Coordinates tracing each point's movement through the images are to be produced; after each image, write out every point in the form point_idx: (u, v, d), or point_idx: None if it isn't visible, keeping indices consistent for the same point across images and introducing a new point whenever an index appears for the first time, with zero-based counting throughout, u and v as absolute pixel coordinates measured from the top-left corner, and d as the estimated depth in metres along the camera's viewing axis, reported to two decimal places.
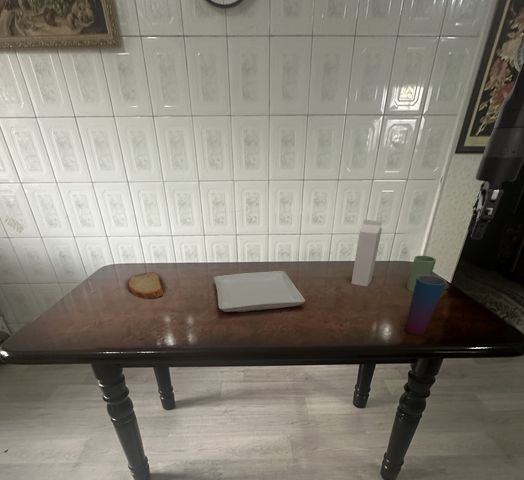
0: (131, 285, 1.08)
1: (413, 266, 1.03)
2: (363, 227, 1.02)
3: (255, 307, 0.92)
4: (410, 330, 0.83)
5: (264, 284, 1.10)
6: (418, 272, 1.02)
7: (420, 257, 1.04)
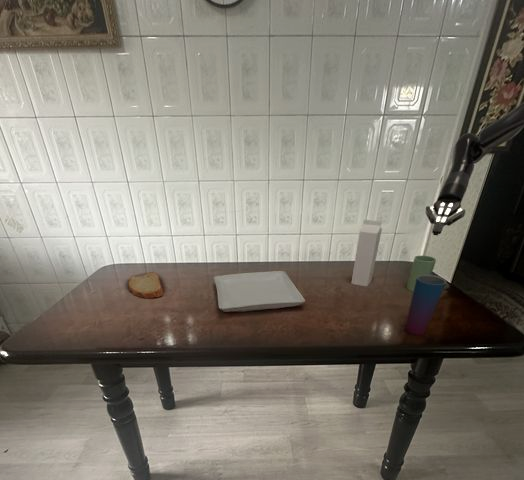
0: (131, 285, 1.08)
1: (413, 266, 1.03)
2: (363, 227, 1.02)
3: (255, 307, 0.92)
4: (410, 330, 0.83)
5: (264, 284, 1.10)
6: (418, 272, 1.02)
7: (420, 257, 1.04)
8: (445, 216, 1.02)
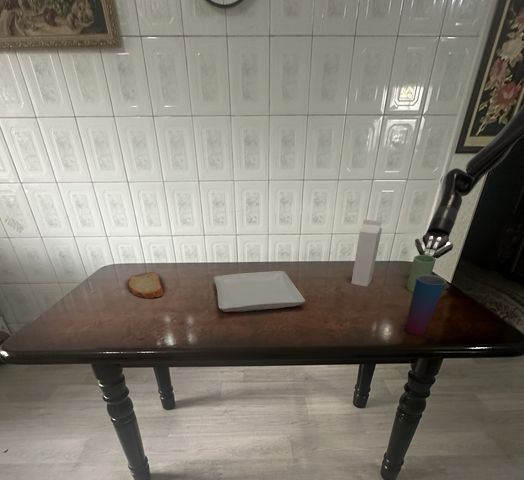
0: (131, 285, 1.08)
1: (413, 266, 1.03)
2: (363, 227, 1.02)
3: (255, 307, 0.92)
4: (410, 330, 0.83)
5: (264, 284, 1.10)
6: (417, 272, 1.02)
7: (419, 256, 1.04)
8: (433, 249, 1.05)
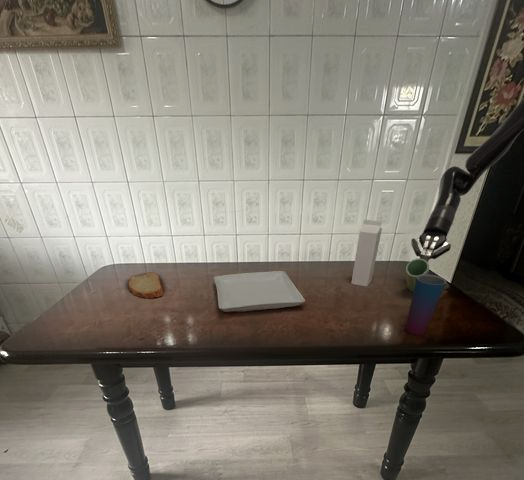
0: (131, 285, 1.08)
1: (406, 275, 1.00)
2: (363, 227, 1.02)
3: (255, 307, 0.92)
4: (410, 330, 0.83)
5: (264, 284, 1.10)
6: (412, 282, 1.00)
7: (413, 261, 0.98)
8: (430, 250, 1.00)
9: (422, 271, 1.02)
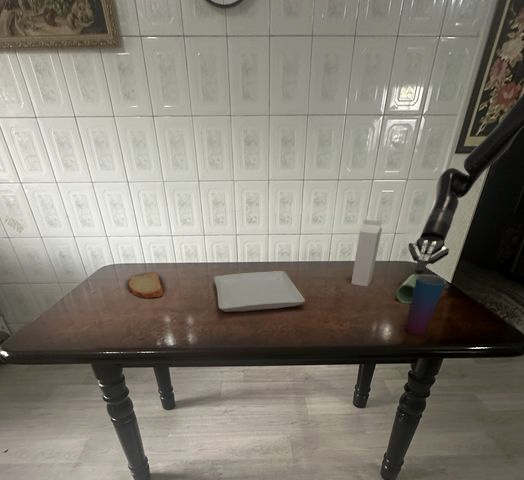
0: (131, 285, 1.08)
1: None
2: (363, 227, 1.02)
3: (255, 307, 0.92)
4: (410, 330, 0.83)
5: (264, 284, 1.10)
6: None
7: (402, 285, 0.97)
8: (428, 254, 0.98)
9: None
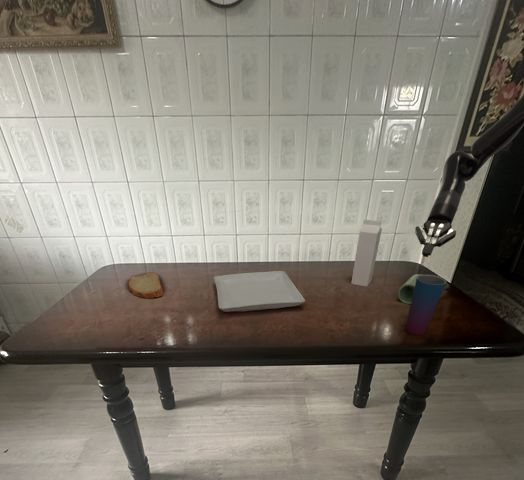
0: (131, 285, 1.08)
1: None
2: (363, 227, 1.02)
3: (255, 307, 0.92)
4: (410, 330, 0.83)
5: (264, 284, 1.10)
6: None
7: None
8: (435, 237, 0.98)
9: None
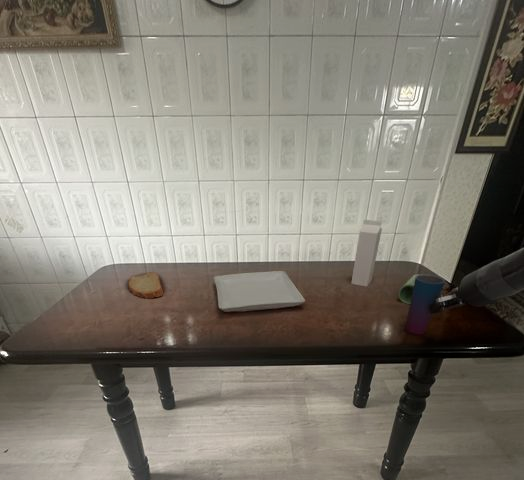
0: (131, 285, 1.08)
1: None
2: (363, 227, 1.02)
3: (255, 307, 0.92)
4: (410, 330, 0.83)
5: (264, 284, 1.10)
6: None
7: None
8: None
9: None
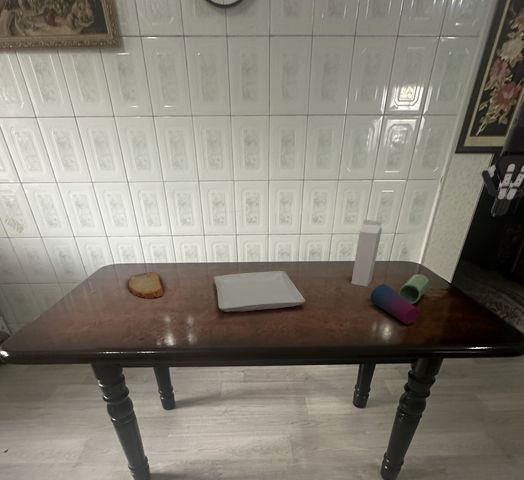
0: (131, 285, 1.08)
1: None
2: (363, 227, 1.02)
3: (255, 307, 0.92)
4: (403, 314, 0.85)
5: (264, 284, 1.10)
6: None
7: None
8: None
9: None
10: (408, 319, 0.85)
